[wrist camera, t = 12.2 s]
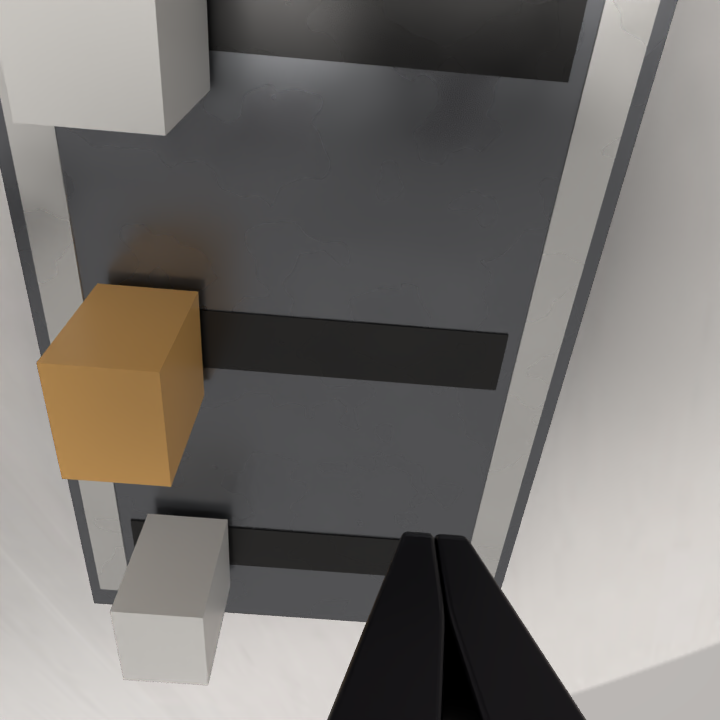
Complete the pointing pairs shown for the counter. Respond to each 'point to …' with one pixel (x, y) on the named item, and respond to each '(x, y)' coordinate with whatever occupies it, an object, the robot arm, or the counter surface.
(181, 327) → the orange block
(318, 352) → the panel
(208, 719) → the counter surface
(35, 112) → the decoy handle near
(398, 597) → the robot arm
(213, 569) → the grey small block
